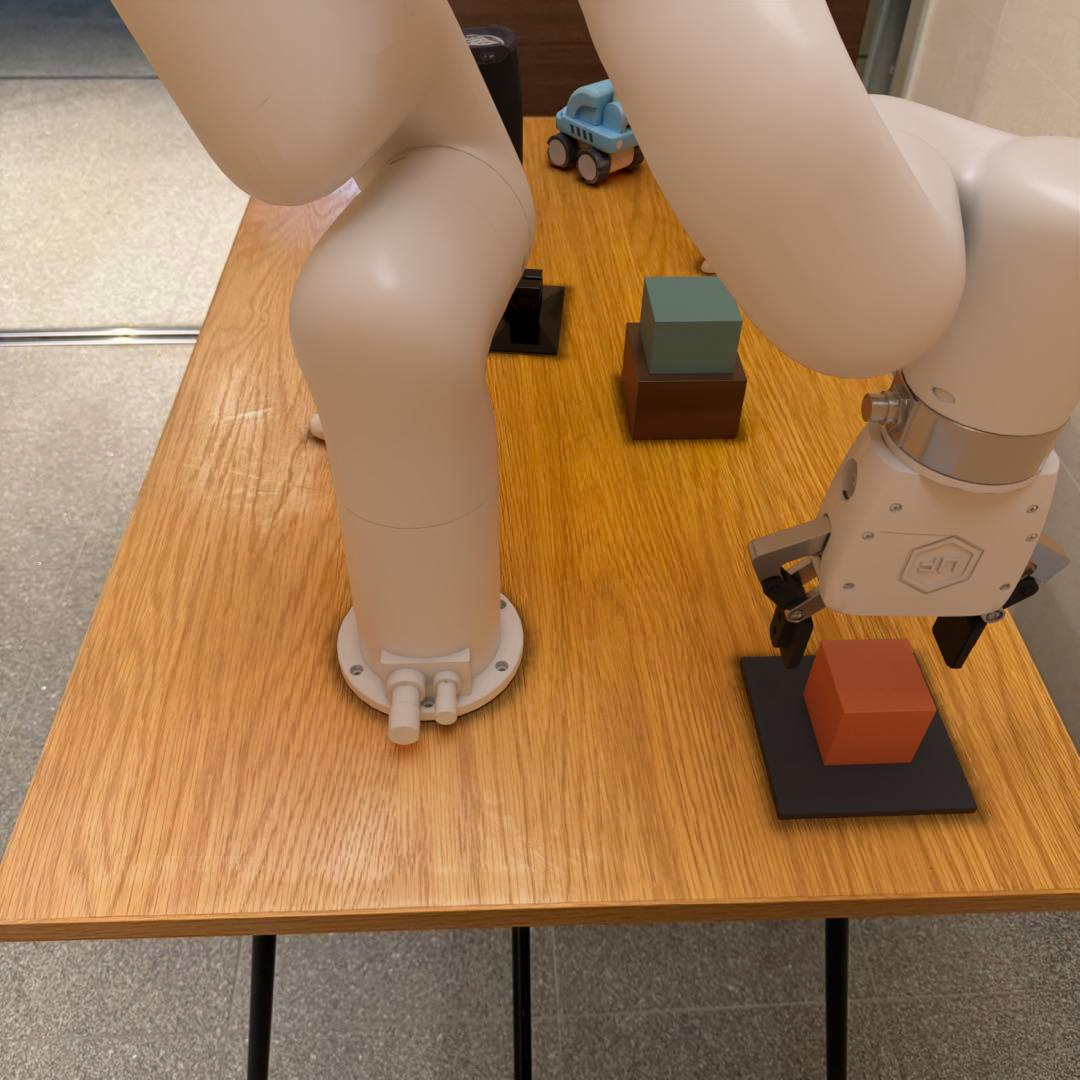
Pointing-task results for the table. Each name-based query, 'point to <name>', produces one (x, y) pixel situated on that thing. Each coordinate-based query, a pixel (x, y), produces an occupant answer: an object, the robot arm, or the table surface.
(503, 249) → the robot arm
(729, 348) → the middle block
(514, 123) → the portable speaker
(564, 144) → the toy excavator
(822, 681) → the orange-red cube
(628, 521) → the table surface
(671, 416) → the base block
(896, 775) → the mat
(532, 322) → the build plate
